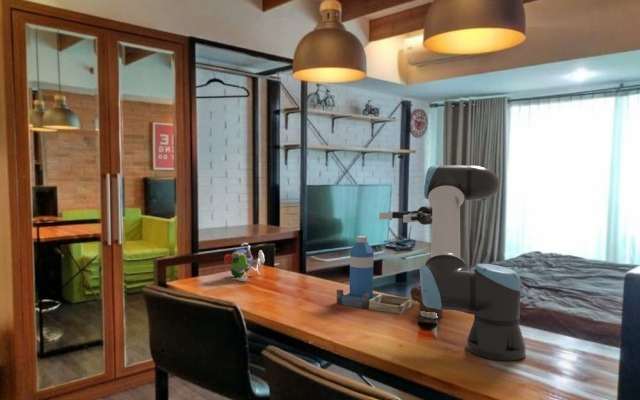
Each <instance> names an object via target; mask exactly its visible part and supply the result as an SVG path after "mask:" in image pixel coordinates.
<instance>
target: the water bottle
mask: <svg viewBox="0 0 640 400" xmlns="http://www.w3.org/2000/svg"><path fill="white" fill-rule="evenodd" d="M374 252H375V251H373V249H372V247H371V246H370V244H369V242H368V236H365V235H357V236H356V242H355V243H354V245H352V247H351V248H350V250H349V291H350V295H351V296H357V297H362V294H363V293H367V294H369V300H370V299H372V298H373V293H374Z"/></svg>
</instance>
